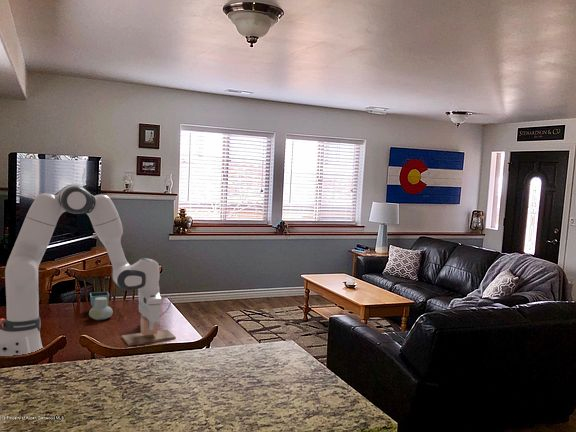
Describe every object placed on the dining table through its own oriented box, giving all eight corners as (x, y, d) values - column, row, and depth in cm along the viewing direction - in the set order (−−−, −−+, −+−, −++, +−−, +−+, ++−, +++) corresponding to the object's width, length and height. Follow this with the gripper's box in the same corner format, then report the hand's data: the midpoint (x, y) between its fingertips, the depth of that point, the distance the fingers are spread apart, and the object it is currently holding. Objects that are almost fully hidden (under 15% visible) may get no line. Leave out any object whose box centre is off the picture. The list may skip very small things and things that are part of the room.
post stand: (128, 345, 210) (128, 326, 209) (121, 337, 220) (121, 319, 219) (175, 338, 220) (175, 320, 219) (166, 331, 230) (167, 314, 230)
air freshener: (115, 317, 250) (115, 297, 250) (105, 321, 242) (105, 301, 242) (96, 315, 253) (96, 295, 252) (85, 319, 245) (85, 299, 244)
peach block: (144, 335, 216) (144, 320, 215) (140, 331, 221) (140, 317, 220) (157, 333, 219) (157, 318, 218) (153, 330, 224) (153, 315, 223)
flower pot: (89, 309, 263) (89, 292, 262) (107, 308, 267) (107, 291, 266) (90, 314, 255) (90, 296, 254) (109, 312, 259) (109, 295, 258)
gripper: (135, 291, 226) (134, 321, 227) (148, 301, 208) (147, 334, 209) (149, 290, 229) (149, 320, 230) (163, 300, 211) (162, 332, 213)
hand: (148, 327), depth 219 cm, fingers closed on peach block, 6 cm apart
